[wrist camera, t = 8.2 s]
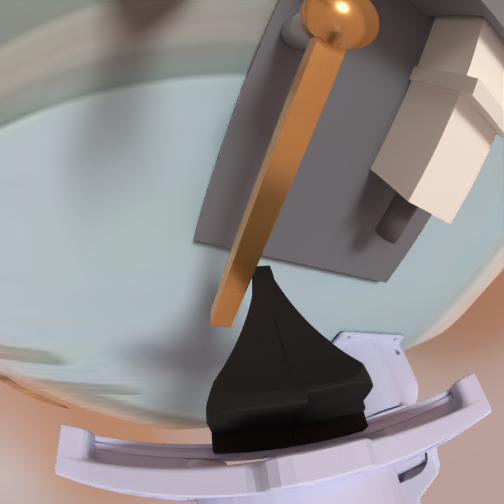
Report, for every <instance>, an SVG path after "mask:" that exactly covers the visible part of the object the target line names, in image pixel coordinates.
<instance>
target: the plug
mask: <svg viewBox="0 0 504 504" xmlns="http://www.w3.org/2000/svg"><path fill="white" fill-rule="evenodd" d="M409 79H410V80H411V83H410V85H409V88H408V90H407V92H406V95H405V97H404V99H403V101H402V104H401V106H400V108H399V111H398V113H397V115H396V117H395V119H394V122H393V124H392V126H391V128H390V130H389V132H388V134H387V137H386V139H385V141H384V143H383V145H382V147H381V149H380V151H379V153H378V155H377V157H376V159H375V161H374V163H373V165H372V167H371V170H372V171H373V172H375V173H376V174H377V175H378V176H379V177H381V178H382V179H383V180H384V181H385V182H387V183H388V184H389V185H390V186H391V187H392V188H393V189H395V190H396V191H397V192H396V194H395V195H394V197H393V199H392V201H391V203H390V204H389V206H388V208H387V210H386V211H385V213H384V215H383V217H382V218H381V220H380V222H379V223H378V225H377V227H376V228H375V231H376V232H377V234H378V235H379V236H380V237H382V238H383V239H384V240H386V241H388V242H389V243H392V244H396V243H397V241H398V240H399V238H400V237H401V235H402V233H403V232H404V230H405V229H406V227H407V225H408V224H409V222H410V220H411V219H412V217H413V215H414V214H415V212H416V210H417V209H418V207H420V208H422V209H423V210H425V211H427V212H429V213H431V214H433V215H435V216H436V217H438V218H440V219H442V220H444V221H445V222H447V223H449V224H450V223H451V222H452V220H453V218H454V217H455V215H456V213H457V212H458V210H459V208H460V206H461V205H462V203H463V201H464V199H465V198H466V196H467V194H468V192H469V190H470V188H471V186H472V185H473V183H474V181H475V179H476V177H477V175H478V173H479V171H480V169H481V167H482V165H483V162H484V160H485V158H486V156H487V154H488V152H489V149H490V147H491V145H492V142H493V140H494V138H495V135H496V134H497V135H499V136H501V137H503V138H504V40H503V39H502V38H501V36H500V35H499V34H498V32H497V31H496V30H495V29H494V27H493V26H492V25H491V24H490V23H489V21H488V20H487V19H486V18H485V17H484V16H474V15H440V16H436V17H435V20H434V23H433V26H432V28H431V31H430V34H429V37H428V40H427V42H426V45H425V48H424V50H423V53H422V55H421V58H420V61H419V63H418V66H414V68H413V70H412V73H411V75H410V78H409Z"/></svg>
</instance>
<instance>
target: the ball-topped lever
mask: <svg viewBox="0 0 504 504" xmlns="http://www.w3.org/2000/svg"><path fill="white" fill-rule="evenodd" d="M299 18H300V23H301V26H302V28H303V30H304V32H305V33H306V34H307V36H308V37H309V38H310V40H309V43H308V45H307V48H306V50H305V53H304V55H303V58H302V60H301V63H300V65H299V68H298V70H297V73H296V76H295V78H294V81H293V83H292V86H291V88H290V91H289V94H288V96H287V99H286V101H285V104H284V107H283V109H282V112H281V115H280V117H279V120H278V122H277V125H276V128H275V130H274V133H273V136H272V138H271V141H270V144H269V146H268V149H267V152H266V155H265V157H264V160H263V163H262V165H261V168H260V171H259V174H258V176H257V179H256V182H255V185H254V187H253V190H252V193H251V196H250V198H249V201H248V204H247V207H246V210H245V212H244V215H243V218H242V221H241V224H240V227H239V229H238V232H237V235H236V238H235V241H234V244H233V247H232V249H231V252H230V255H229V258H228V261H227V264H226V267H225V270H224V273H223V276H222V278H221V281H220V284H219V287H218V290H217V293H216V296H215V299H214V302H213V305H212V308H211V325H217V326H224V327H231V325H232V322H233V320H234V318H235V315H236V313H237V311H238V309H239V306H240V304H241V302H242V299H243V297H244V295H245V292H246V290H247V288H248V285H249V283H250V281H251V278H252V276H253V274H254V271H255V269H256V267H257V264H258V262H259V260H260V257H261V255H262V253H263V250H264V248H265V246H266V243H267V241H268V239H269V236H270V234H271V232H272V229H273V227H274V225H275V222H276V220H277V218H278V215H279V213H280V210H281V208H282V206H283V203H284V201H285V199H286V196H287V194H288V191H289V189H290V187H291V184H292V182H293V179H294V177H295V175H296V172H297V170H298V168H299V165H300V163H301V160H302V158H303V155H304V153H305V151H306V148H307V146H308V143H309V141H310V139H311V136H312V134H313V131H314V129H315V126H316V124H317V122H318V119H319V117H320V114H321V112H322V109H323V107H324V105H325V102H326V100H327V97H328V95H329V92H330V90H331V87H332V85H333V82H334V80H335V77H336V75H337V72H338V70H339V68H340V65H341V63H342V60H343V58H344V55H345V53H346V50H349V49H359V48H363V47H365V46H367V45H369V44H370V43H371V42H372V41H373V40H374V39H375V38H376V36H377V34H378V31H379V18H378V14H377V11H376V9H375V7H374V6H373V4H372V3H371V2H370V0H305V1H304V2H303V3H302V5H301V8H300V12H299Z"/></svg>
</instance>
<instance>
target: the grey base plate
mask: <svg viewBox="0 0 504 504" xmlns="http://www.w3.org/2000/svg"><path fill="white" fill-rule="evenodd" d="M304 1H305V0H278V2H277V5H276V7H275V9H274V11H273V14H272V16H271V18H270V20H269V23H268V25H267V27H266V30H265V32H264V34H263V37H262V39H261V41H260V44H259V46H258V49H257V51H256V54H255V56H254V59H253V61H252V64H251V66H250V69H249V71H248V74H247V76H246V79H245V82H244V84H243V87H242V90H241V92H240V95H239V98H238V100H237V103H236V106H235V109H234V111H233V114H232V117H231V120H230V123H229V126H228V129H227V131H226V134H225V137H224V140H223V143H222V146H221V149H220V152H219V155H218V159H217V162H216V165H215V168H214V171H213V174H212V177H211V181H210V184H209V187H208V190H207V194H206V197H205V201H204V204H203V207H202V211H201V214H200V218H199V221H198V225H197V228H196V232H195V239H194V240H195V241H200V242H204V243H209V244H213V245H218V246H222V247H227V248H231V249H232V247H233V244H234V241H235V238H236V235H237V232H238V229H239V227H240V224H241V221H242V218H243V215H244V212H245V210H246V207H247V204H248V201H249V198H250V196H251V193H252V190H253V187H254V185H255V182H256V179H257V176H258V174H259V171H260V168H261V165H262V163H263V160H264V157H265V155H266V152H267V149H268V146H269V144H270V141H271V138H272V136H273V133H274V130H275V128H276V125H277V122H278V120H279V117H280V115H281V112H282V109H283V107H284V104H285V101H286V99H287V96H288V94H289V91H290V88H291V86H292V83H293V81H294V78H295V76H296V73H297V70H298V68H299V65H300V63H301V60H302V58H303V55H304V53H305V50H306V48H307V45H308V43H309V40H310V38H309V37H308V36H307V34H306V33H305V32H304V30H303V28H302V26H301V23H300V18H299V12H300V8H301V5H302V3H303V2H304ZM370 2H371V3H372V4H373V6H374V7H375V9H376V11H377V14H378V18H379V31H378V34H377V36H376V38H375V39H374V40H373V41H372V42H371V43H370V44H369V45H367V46H365V47H363V48H359V49H349V50H346V53H345V55H344V58H343V60H342V63H341V65H340V68H339V70H338V72H337V75H336V77H335V80H334V82H333V85H332V87H331V90H330V92H329V95H328V97H327V100H326V102H325V105H324V107H323V109H322V112H321V114H320V117H319V119H318V122H317V124H316V126H315V129H314V131H313V134H312V136H311V139H310V141H309V143H308V146H307V148H306V151H305V153H304V155H303V158H302V160H301V163H300V165H299V168H298V170H297V172H296V175H295V177H294V179H293V182H292V184H291V187H290V189H289V191H288V194H287V196H286V199H285V201H284V203H283V206H282V208H281V210H280V213H279V215H278V218H277V220H276V222H275V225H274V227H273V229H272V232H271V234H270V236H269V239H268V241H267V243H266V246H265V248H264V250H263V253H262V255H263V256H267V257H272V258H276V259H281V260H286V261H290V262H295V263H299V264H304V265H308V266H313V267H317V268H322V269H326V270H331V271H335V272H340V273H345V274H349V275H354V276H358V277H363V278H367V279H372V280H376V281H381V282H387V281H388V280H389V278H390V277H391V275H392V274H393V273H394V271H395V270H396V268H397V267H398V266H399V264H400V263H401V261H402V260H403V258H404V257H405V255H406V254H407V252H408V251H409V250H410V248H411V247H412V245H413V243H414V242H415V240H416V239H417V237H418V236H419V234H420V233H421V231H422V229H423V228H424V226H425V225H426V223H427V221H428V220H429V218H430V216H431V215H432V214H431V213H429V212H427V211H425V210H423V209H422V208H420V207H418V209H417V210H416V212H415V214H414V215H413V217H412V219H411V220H410V222H409V224H408V225H407V227H406V229H405V230H404V232H403V233H402V235H401V237H400V238H399V240H398V241H397V243H396V244H392V243H389V242H388V241H386V240H384V239H383V238H382V237H380V236H379V235H378V234H377V232H376V231H375V228H376V227H377V225H378V223H379V222H380V220H381V218H382V217H383V215H384V213H385V211H386V210H387V208H388V206H389V204H390V203H391V201H392V199H393V197H394V195H395V194H396V192H397V191H396V190H395V189H393V188H392V187H391V186H390V185H389V184H388V183H387V182H385V181H384V180H383V179H382V178H381V177H379V176H378V175H377V174H376V173H375V172H373V171H372V170H371V167H372V165H373V163H374V161H375V159H376V157H377V155H378V153H379V151H380V149H381V147H382V145H383V143H384V141H385V139H386V137H387V134H388V132H389V130H390V128H391V126H392V124H393V122H394V119H395V117H396V115H397V113H398V111H399V108H400V106H401V104H402V101H403V99H404V97H405V95H406V92H407V90H408V88H409V85H410V83H411V80H410V79H409V78H410V75H411V73H412V70H413V68H414V66H418V63H419V61H420V58H421V55H422V53H423V50H424V48H425V45H426V42H427V40H428V37H429V34H430V31H431V28H432V26H433V23H434V20H435V17H436V16H440V15H474V16H484V17H485V18H486V19H487V20H488V21H489V23H490V24H491V25H492V26H493V27H494V29H495V30H496V31H497V32H498V34H499V35H500V36H501V38H502V39H503V40H504V0H370Z"/></svg>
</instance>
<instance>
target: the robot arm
mask: <svg viewBox="0 0 504 504" xmlns="http://www.w3.org/2000/svg"><path fill="white" fill-rule="evenodd" d="M402 340H403V336H402V335H393V334H374V333H358V332H342V333H340V334H339V335H338V337H337V338H336V339H335V340H334V341H333V342H332V343H331V342H330V341H329V340H328V339H326V338H325V337H324V336H323V335H321V334H320V333H319V332H318V331H317V330H316V329H315V328H314V327H313V326H311V325H310V324H309V323H308V322H307V321H306V320H305V318H304V317H303V316H302V315H301V314H300V313H299V312H298V311H297V310H296V308H295V307H294V306H293V305H292V304H291V302H290V301H289V300H288V298H287V297H286V296H285V294H284V293H283V292H282V290H281V289H280V287H279V286H278V284H277V283H276V281H275V280H274V276H273V273H272V270H271V268H270V266H257V267H256V269H255V271H254V274H253V276H252V299H251V303H250V307H249V311H248V314H247V317H246V320H245V323H244V326H243V329H242V331H241V334H240V336H239V338H238V340H237V343H236V345H235V347H234V349H233V351H232V353H231V354H230V356H229V358H228V360H227V362H226V364H225V365H224V367H223V368H222V370H221V372H220V373H219V375H218V376H217V378H216V379H215V381H214V382H213V385H212V388H211V391H210V394H209V397H208V401H207V406H206V419H207V424H208V426H209V428H210V430H211V432H212V444H197V445H195V444H164V443H149V442H137V441H129V440H121V439H114V438H107V437H101V436H95V435H94V434H93V433H92V432H90V431H89V430H86V429H83V428H80V427H75V426H70V425H66V424H62V425H61V430H60V437H59V443H58V450H57V457H56V466H55V473H56V474H58V475H60V476H63V477H65V478H69V479H71V480H74V481H77V482H80V483H83V484H86V485H89V486H93V487H97V488H101V489H106V490H110V491H115V492H120V493H125V494H130V495H136V496H143V497H150V498H158V499H167V500H179V501H197V504H422V502H421V498H420V497H421V496H422V494H423V493H424V492H425V490H426V489H427V488H428V487H429V485H430V484H431V483H432V481H433V480H434V479H435V477H436V476H437V474H438V473H439V469H438V468H439V467H440V462H439V460H438V455H437V448H436V447H437V446H439V445H441V444H442V443H444V442H446V441H448V440H450V439H451V438H453V437H455V436H457V435H458V434H460V433H462V432H463V431H465V430H466V429H468V428H469V427H471V426H472V425H474V424H475V423H476V422H478V421H480V420H481V419H482V418H484V417H485V416H486V415H488V414H489V413H490V412H491V411H492V410H491V408H490V405H489V403H488V401H487V399H486V397H485V394H484V392H483V390H482V388H481V386H480V384H479V382H478V380H477V378H476V376H475V374H474V373H472V374H470V375H468V376H466V377H464V378H462V379H460V380H459V381H457V382H456V383H455V384H453V385H452V386H451V388H450V389H449V390H447V391H444V392H442V393H440V394H438V395H436V396H433V397H431V398H428V399H426V400H424V401H421V402H419V403H416V400H417V397H418V384H417V381H416V378H415V376H414V374H413V372H412V369H411V367H410V365H409V363H408V361H407V358H406V356H405V354H404V352H403V350H402V348H401V346H400V344H399V343H400V342H401V341H402ZM415 403H416V404H415ZM264 458H270V459H267V460H264V461H257V462H251V463H244V464H235V465H227V464H226V463H225V461H242V460H254V459H264Z"/></svg>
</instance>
